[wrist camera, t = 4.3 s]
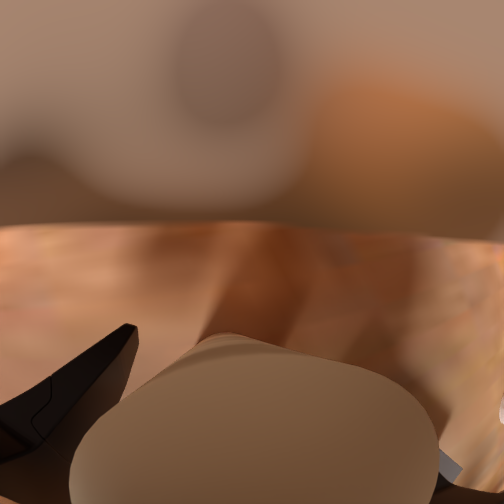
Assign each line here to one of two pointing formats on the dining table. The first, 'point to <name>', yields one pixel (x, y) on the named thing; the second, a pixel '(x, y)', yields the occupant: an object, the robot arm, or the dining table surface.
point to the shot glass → (502, 410)
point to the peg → (259, 434)
